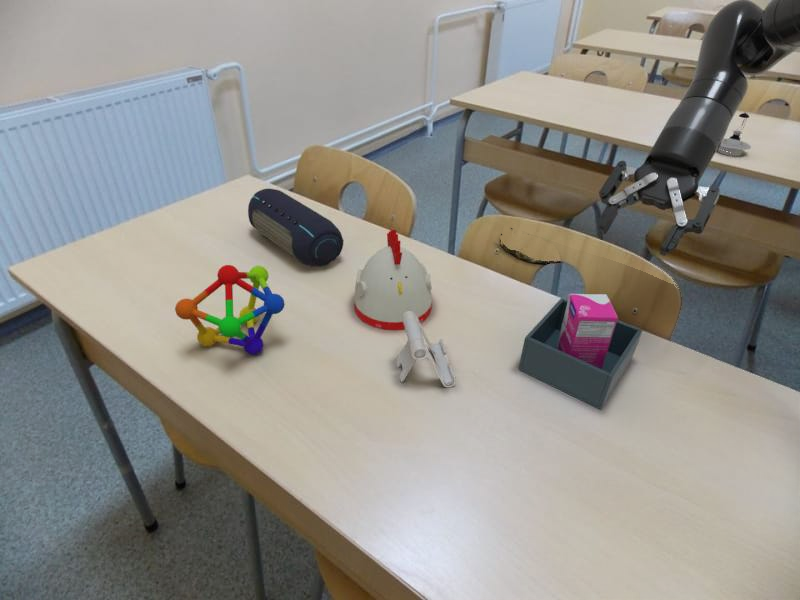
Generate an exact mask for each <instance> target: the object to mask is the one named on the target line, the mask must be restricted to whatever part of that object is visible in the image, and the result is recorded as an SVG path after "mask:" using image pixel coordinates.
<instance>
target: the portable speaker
mask: <svg viewBox="0 0 800 600" xmlns="http://www.w3.org/2000/svg"><path fill="white" fill-rule="evenodd" d="M247 206H248V208H247V215H248V220H249V223H250V225H251V226H252V228H254V229H255V230H256V231H257V232H259V233H260V234H261V235H263V236H264V237H266V238H267V239H269V241H271V242H272V243H274V244H276V245H277V247H280V248H281V249H283V250H284V251H285V252H287V253H288V254H289V255H291V256H292V257H293V258H295V259H296V260H298V261H299V262H300V263H301V264H303V265H305V266H309V267H317V268H318V267H325V266H328V265H329V264H331V263H333V262H334V261H336V260H337V258H338V257H339V256H340V255H341V253H342V251H343V247H344V238H343V235H342V232H341V231H340V229H339V228H338V227H337V226H336V225H335V223H333V222H332V220H330V219H328V217H325V216H323V215H322V214H320V213H319V212H317V211H315V210H313V209H312V208H310V207H309V206H307V205H305V204H303V203H302V202H301V201H299V200H297V199H295V198H294V197H291V196H290V195H288V194H287V193H285V192H283V191H282V190H280V189H275V188H262V189H260V190H258V191H256V192H255V193H254V194H253V195H252V197H251V198H250V199H249V203H248V205H247Z"/></svg>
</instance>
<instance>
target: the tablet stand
mask: <svg viewBox="0 0 800 600" xmlns="http://www.w3.org/2000/svg"><path fill="white" fill-rule="evenodd" d="M402 319H403V323H404V327H405V329H404V331H405V333H406V338H407V340H406V343H405V344H404V346H403V347H402V350H401V352H400V353H399V356H398V357H397V359H396V362H395V363H396V364H395V365H396V367H397V368H400V366H401V368H402V370H401V373H400V375H399V380H400V382H401V383H403V382H404V381H405V379H406V378H407V376H408V374H409V373H410V371H411V369H412V368H413V365H414V364H415V362H416V361H417V360H420V361H421V360H423V359H428V360H429V362H430V363H431V365H432V367H433V369H434V371H435V373H436V374H437V376H438V378H439V380H440V382H441V384H442V386H443V387H445V388H451V387H452V388H453V386H455V384H456V375H455V372H454V370H453V365H452V363H451V362H450V361H449V358H448V355H447V350H446V346H445V344H444V341H443V339H441V338H440V339H439V341H438V343H436V344H433V343H432V342H431V341H430V339H429V337H428V335H427V333H426V331H425V329H424V327H423V326H422V323H420V322H419V319H418V317H417V316H416V314H415V313H414V312H413V311H407V312H405V313H404V314H403V315H402ZM425 342H426V343H425ZM428 347H429V348H428ZM432 355H433V356H432ZM433 357H434V358H433Z"/></svg>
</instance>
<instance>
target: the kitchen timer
mask: <svg viewBox="0 0 800 600" xmlns="http://www.w3.org/2000/svg"><path fill="white" fill-rule="evenodd" d="M386 236H387V237H386V241H387V242H386V243H387V246H385V247H383V248H381V249H379V250H377V251H376V252H375V253H374V254H373V255H372V256H371V257H369V259H368V260H367V262H366V263H365V264H364V267H363V268H362V269H360V268H359V269H358V270H357V272H356V273H357V274H356V280H355V286H354V300H353V301H354V312H355V313H356V316H357V317H358V318H359V319H360V320H361V321H362V322H363V323H365V324H367V325H369V326H371V327H372V328H377V329H381V330H387V331H401V330H405V327H404V323H403V319H402V315H403V314H404V313H405V312H407V311H413V312H414V313H415V314H416V316H417V317H418V319H419V322H420V324H422V323H423V322H425V321H426V320H427V319H428V317H430V315H431V312H432V308H433V307H432V306H433V296H432V281H431V274H429V272H428V270H427V269H426V266H425V265H424V264H423V263H421V262H420V261H419V259H418V258H417V257H416V256H415V254H413V252H411V251H410V250H408V249H406V248H404V247H402V246H401V240H399V234H398V233H397V229H390V230H388V233H386Z"/></svg>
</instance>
